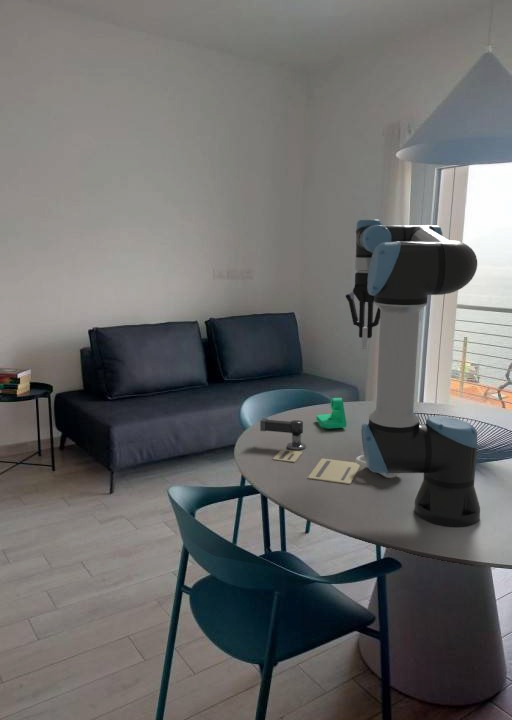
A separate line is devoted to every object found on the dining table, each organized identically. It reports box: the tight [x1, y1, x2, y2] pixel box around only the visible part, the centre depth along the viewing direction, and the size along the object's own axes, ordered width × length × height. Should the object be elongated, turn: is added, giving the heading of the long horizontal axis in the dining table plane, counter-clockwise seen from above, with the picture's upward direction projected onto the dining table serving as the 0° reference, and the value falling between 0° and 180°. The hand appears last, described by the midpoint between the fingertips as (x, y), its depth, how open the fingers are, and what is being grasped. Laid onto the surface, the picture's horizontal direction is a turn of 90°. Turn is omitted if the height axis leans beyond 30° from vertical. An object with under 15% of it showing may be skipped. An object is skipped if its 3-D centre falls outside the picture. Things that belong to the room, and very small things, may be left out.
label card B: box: [307, 457, 361, 485], centre depth 169 cm, size 16×12×1 cm
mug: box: [354, 449, 400, 479], centre depth 167 cm, size 12×10×8 cm
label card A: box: [272, 449, 304, 464], centre depth 181 cm, size 9×7×1 cm
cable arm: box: [259, 417, 304, 435], centre depth 189 cm, size 14×4×4 cm, turn 74°
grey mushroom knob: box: [286, 433, 307, 451], centre depth 189 cm, size 6×6×5 cm
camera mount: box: [316, 397, 347, 429], centre depth 211 cm, size 12×8×10 cm, turn 11°
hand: (365, 348), depth 182 cm, fingers closed
